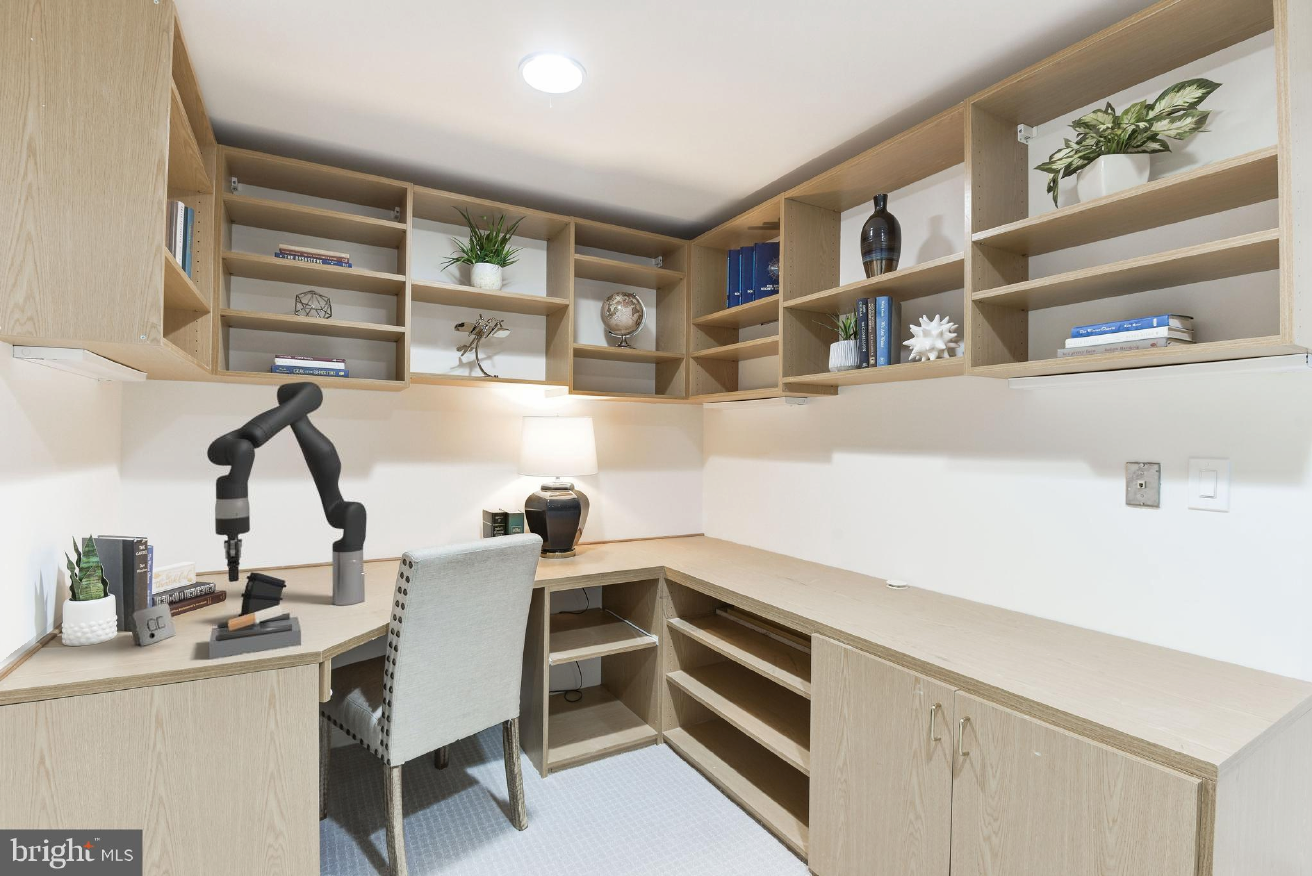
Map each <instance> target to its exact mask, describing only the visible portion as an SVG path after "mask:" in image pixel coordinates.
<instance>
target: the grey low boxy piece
mask: <svg viewBox="0 0 1312 876" xmlns="http://www.w3.org/2000/svg"><path fill="white" fill-rule="evenodd" d="M228 623H229V620H227V621H221V622H219V623H217V624H216V625H217V627H212V628H211V632H210V637H209V638H210V639H209V642H208V643H209V644H208V648H209V654H208V655H209V656H208V657H209V660H213V659H212V658H215V659H220V657H221V658H225V657H224V656H228V657H231V656H230V655H234V656H239V655H238V654H240V655H244V654H243V653H247V654H252V653H251V652H253V653H256V652H255V651H259V652H264V650H266V651H270V650H269V649H272V650H277V648H278V649H283V648H290V647H289V646H291V647H297V646H301V645H302V629H301V624H300V620H299V618H298V616H293V617H292V616H291V614H290V612H287V613H282V615H279V616H276V617H273V618H270V619H266V620H263V621H260V622H259V624H258V625H254V623H253V624H250V625H247V626H244V627H240V628H237V629H234V630H231V631H229V627H228ZM300 644H301V645H300Z"/></svg>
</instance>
